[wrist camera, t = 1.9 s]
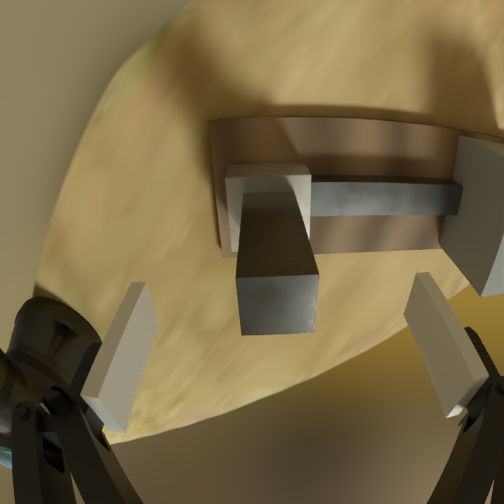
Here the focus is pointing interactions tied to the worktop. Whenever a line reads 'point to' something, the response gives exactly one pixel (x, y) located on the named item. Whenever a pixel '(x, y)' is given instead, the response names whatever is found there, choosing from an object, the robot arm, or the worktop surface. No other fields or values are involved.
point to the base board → (342, 171)
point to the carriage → (272, 247)
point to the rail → (383, 195)
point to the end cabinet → (478, 216)
